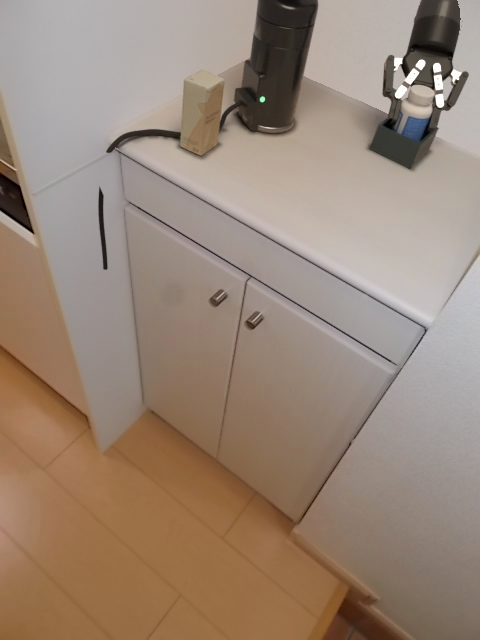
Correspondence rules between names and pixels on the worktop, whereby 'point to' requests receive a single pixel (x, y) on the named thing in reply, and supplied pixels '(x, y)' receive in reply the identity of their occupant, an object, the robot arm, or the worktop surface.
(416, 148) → the bin
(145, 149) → the worktop surface
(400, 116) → the pill bottle
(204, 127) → the box
